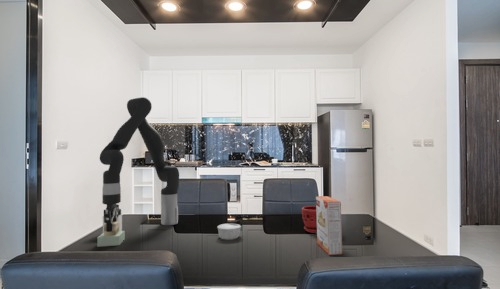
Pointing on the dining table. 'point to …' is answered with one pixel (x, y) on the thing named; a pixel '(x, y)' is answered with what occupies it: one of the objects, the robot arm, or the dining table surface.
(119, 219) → the jar
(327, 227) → the cracker box
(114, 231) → the maple cube
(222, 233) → the ramekin
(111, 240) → the pedestal
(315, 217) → the plant pot
